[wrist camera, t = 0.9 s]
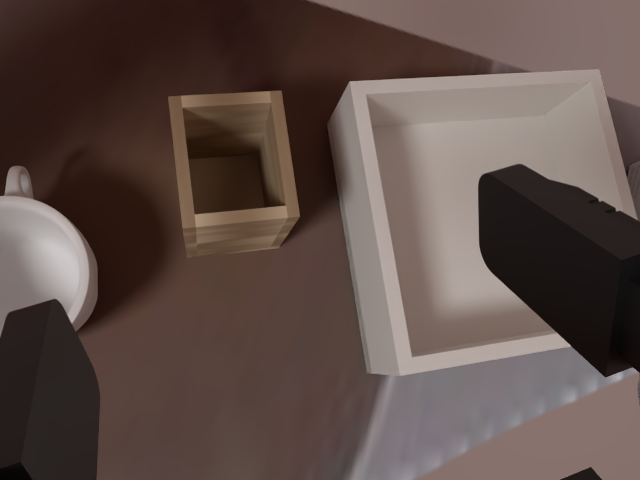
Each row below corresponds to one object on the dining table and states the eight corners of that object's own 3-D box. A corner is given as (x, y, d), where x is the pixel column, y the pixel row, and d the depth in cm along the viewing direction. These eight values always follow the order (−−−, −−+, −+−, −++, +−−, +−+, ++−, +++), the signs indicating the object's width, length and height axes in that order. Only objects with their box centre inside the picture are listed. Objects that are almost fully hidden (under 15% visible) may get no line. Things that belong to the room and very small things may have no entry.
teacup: (110, 355, 32) (92, 355, 27) (-43, 368, 30) (-94, 370, 25) (107, 183, 34) (90, 151, 29) (-37, 187, 32) (-83, 153, 27)
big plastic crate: (367, 373, 34) (399, 375, 29) (326, 124, 37) (349, 81, 31) (595, 334, 38) (665, 329, 32) (543, 110, 41) (599, 69, 35)
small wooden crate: (187, 258, 34) (182, 228, 26) (175, 154, 35) (168, 96, 27) (278, 247, 35) (300, 216, 27) (264, 147, 36) (281, 90, 28)
